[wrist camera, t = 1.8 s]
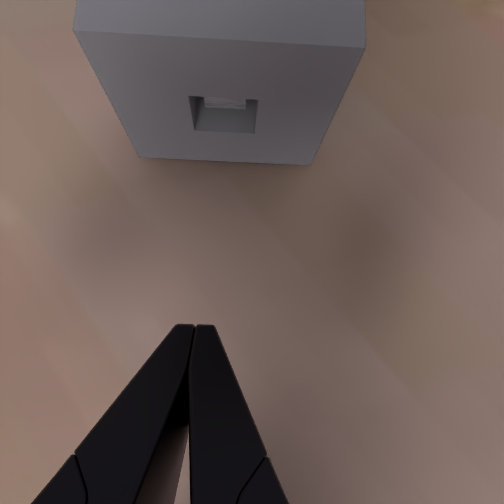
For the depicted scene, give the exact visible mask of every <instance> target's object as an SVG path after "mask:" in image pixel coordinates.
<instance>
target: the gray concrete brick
mask: <svg viewBox="0 0 504 504" xmlns="http://www.w3.org/2000/svg"><path fill="white" fill-rule="evenodd" d="M73 32H74V34H75V36H76V38H77V39H78V41H79V43H80V45H81V47H82V49H83V51H84V53H85V55H86V57H87V59H88V60H89V62H90V64H91V66H92V68H93V70H94V72H95V74H96V76H97V78H98V80H99V81H100V83H101V85H102V87H103V89H104V91H105V93H106V95H107V97H108V99H109V101H110V102H111V104H112V106H113V108H114V110H115V112H116V114H117V116H118V118H119V120H120V121H121V123H122V125H123V127H124V129H125V131H126V133H127V135H128V137H129V139H130V141H131V142H132V144H133V146H134V148H135V150H136V152H137V154H138V156H139V157H143V158H164V159H186V160H207V161H229V162H250V163H272V164H293V165H311V163H312V161H313V158H314V156H315V154H316V152H317V150H318V148H319V146H320V144H321V142H322V139H323V137H324V135H325V133H326V131H327V129H328V127H329V125H330V123H331V120H332V118H333V116H334V114H335V112H336V110H337V108H338V106H339V104H340V101H341V99H342V97H343V95H344V93H345V91H346V89H347V87H348V85H349V82H350V80H351V78H352V76H353V74H354V72H355V70H356V68H357V66H358V63H359V61H360V59H361V57H362V55H363V53H364V51H365V49H366V36H365V6H364V0H77V1H76V9H75V16H74V24H73ZM204 97H217V98H236V99H246V110H244V109H225V108H206V107H205V104H204Z"/></svg>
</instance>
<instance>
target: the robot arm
mask: <svg viewBox="0 0 504 504" xmlns="http://www.w3.org/2000/svg"><path fill="white" fill-rule="evenodd" d="M188 433H189V461H190V504H289V502H288V500H287V498H286V495H285V493H284V491H283V489H282V487H281V484H280V482H279V480H278V478H277V475H276V473H275V471H274V468H273V466H272V463H271V461H270V458H269V457H267V452H266V449H265V447H264V444H263V442H262V439H261V437H260V435H259V432H258V430H257V427H256V425H255V422H254V420H253V417H252V415H251V413H250V410H249V408H248V405H247V403H246V400H245V398H244V396H243V393H242V391H241V388H240V386H239V383H238V381H237V379H236V376H235V374H234V371H233V369H232V366H231V364H230V361H229V359H228V357H227V354H226V352H225V349H224V347H223V344H222V342H221V340H220V337H219V335H218V332H217V330H216V327H215V326H214V325H204V324H198V325H196V327H195V326H194V325H193V324H177V325H175V326H174V327H173V328H172V330H171V331H170V332H169V333H168V335H167V336H166V337H165V338H164V340H163V341H162V342H161V343H160V345H159V346H158V347H157V348H156V350H155V351H154V352H153V353H152V355H151V356H150V357H149V359H148V360H147V361H146V362H145V364H144V365H143V366H142V367H141V369H140V370H139V371H138V372H137V374H136V375H135V376H134V377H133V379H132V380H131V381H130V382H129V384H128V385H127V386H126V387H125V389H124V390H123V391H122V392H121V394H120V395H119V396H118V397H117V399H116V400H115V401H114V402H113V404H112V405H111V406H110V407H109V409H108V410H107V411H106V412H105V414H104V415H103V416H102V417H101V419H100V420H99V421H98V422H97V424H96V425H95V426H94V427H93V429H92V430H91V431H90V432H89V434H88V435H87V436H86V437H85V439H84V440H83V441H82V442H81V444H80V445H79V446H78V447H77V449H76V450H75V452H74V453H75V455H74V454H72V455H71V456H70V457H69V458H68V459H67V461H66V462H65V463H64V465H63V466H62V467H61V468H60V470H59V471H58V472H57V473H56V475H55V476H54V477H53V478H52V479H51V480H50V482H49V483H48V484H47V485H46V486H45V488H44V489H43V490H42V491H41V492H40V494H39V495H38V496H37V497H36V498H35V499H34V501H33V502H32V503H31V504H174V501H175V496H176V491H177V486H178V482H179V477H180V472H181V467H182V463H183V458H184V453H185V448H186V444H187V439H188Z"/></svg>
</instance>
